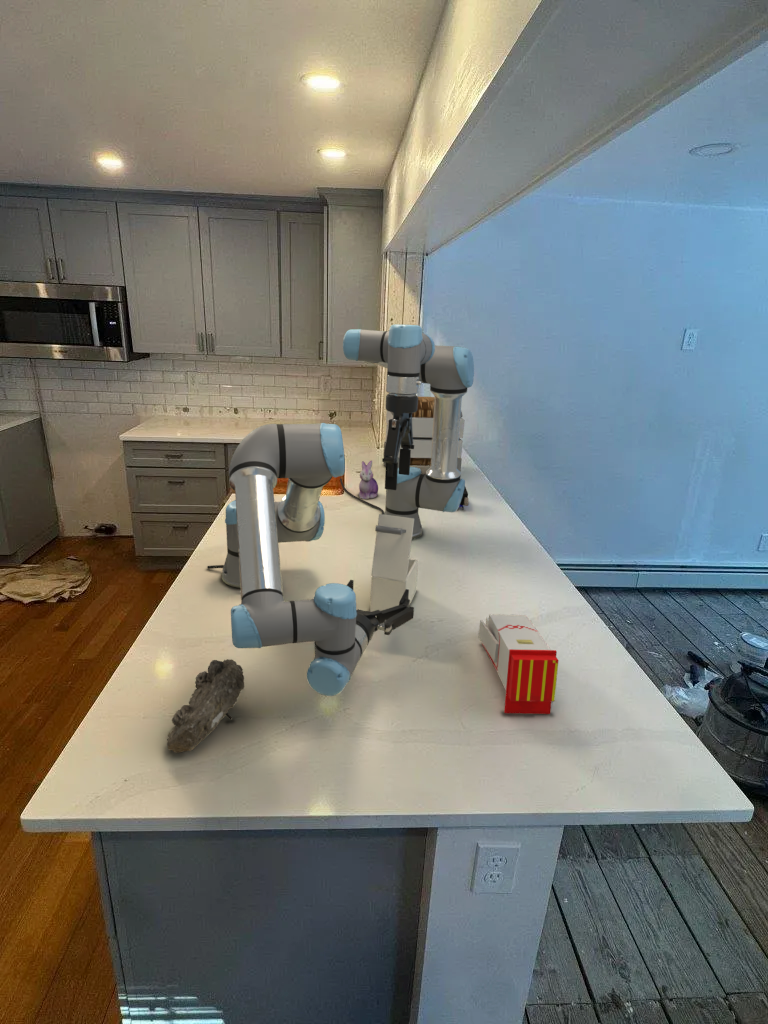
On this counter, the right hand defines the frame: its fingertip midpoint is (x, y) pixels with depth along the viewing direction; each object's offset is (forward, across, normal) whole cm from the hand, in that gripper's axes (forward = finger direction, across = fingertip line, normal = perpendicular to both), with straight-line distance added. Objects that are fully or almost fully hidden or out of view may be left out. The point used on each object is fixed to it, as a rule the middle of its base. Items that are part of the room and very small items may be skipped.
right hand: (397, 481), depth 139 cm
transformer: (+35, +131, +20) cm, 137 cm away
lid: (+17, -1, 0) cm, 17 cm away
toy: (+35, -20, -32) cm, 52 cm away
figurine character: (+35, +89, -5) cm, 96 cm away
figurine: (+35, +87, +32) cm, 99 cm away
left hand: (+23, -14, 0) cm, 27 cm away
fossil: (+35, -53, +22) cm, 67 cm away
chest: (+35, +3, 0) cm, 35 cm away
